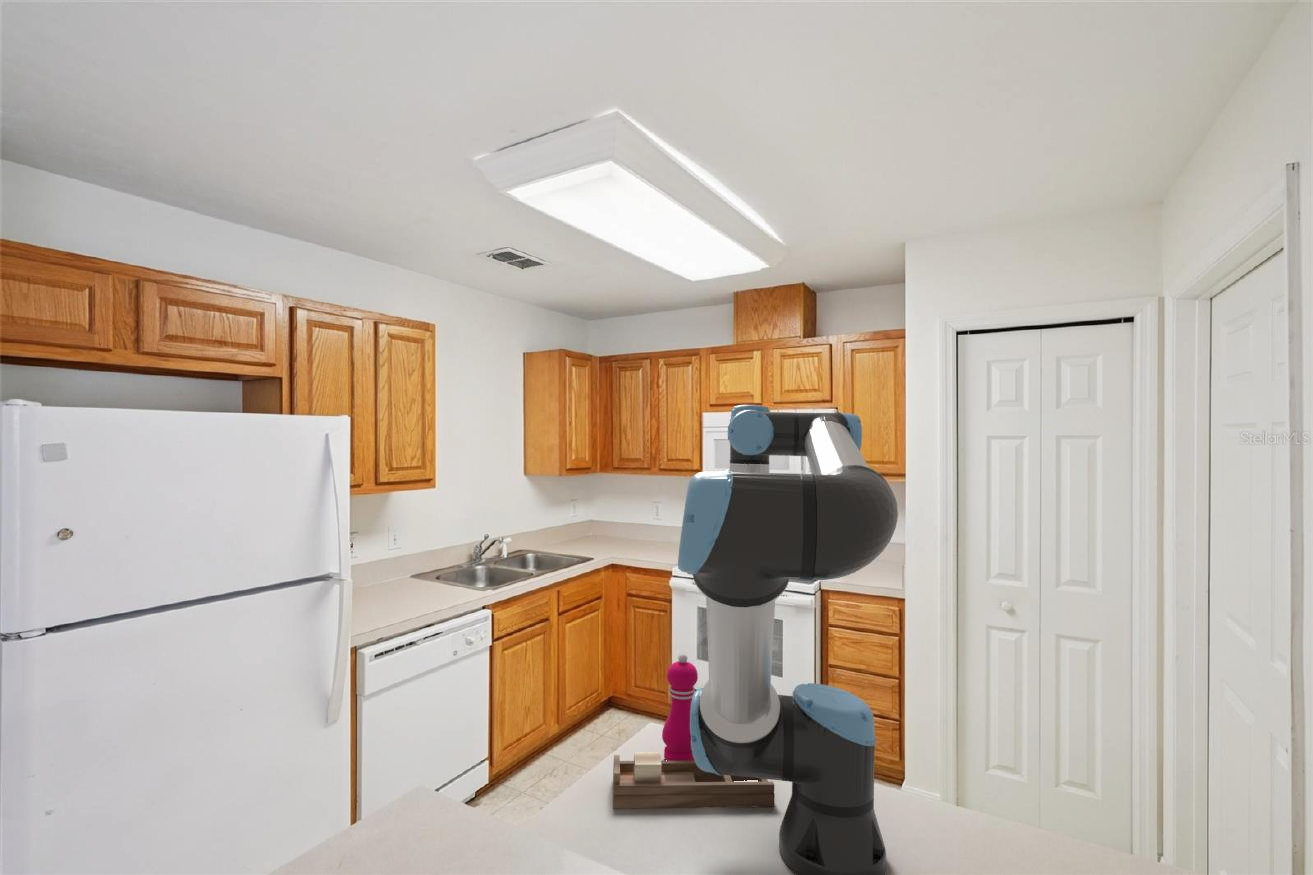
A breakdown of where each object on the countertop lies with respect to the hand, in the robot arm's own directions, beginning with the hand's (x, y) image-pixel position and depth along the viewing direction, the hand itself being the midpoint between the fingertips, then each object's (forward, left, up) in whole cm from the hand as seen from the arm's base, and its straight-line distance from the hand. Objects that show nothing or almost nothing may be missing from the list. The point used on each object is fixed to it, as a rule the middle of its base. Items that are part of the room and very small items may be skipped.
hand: (746, 613), depth 114 cm
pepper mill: (+6, +11, -30) cm, 32 cm away
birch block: (-7, +18, -27) cm, 34 cm away
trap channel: (-7, +11, -29) cm, 32 cm away
